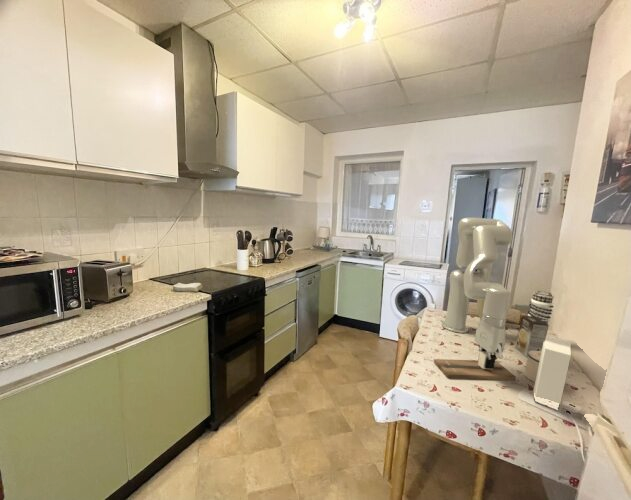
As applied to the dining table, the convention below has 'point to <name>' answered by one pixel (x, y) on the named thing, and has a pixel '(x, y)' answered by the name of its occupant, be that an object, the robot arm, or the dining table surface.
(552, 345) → the milk
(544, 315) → the decorative candle
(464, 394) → the dining table surface
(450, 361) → the wooden board
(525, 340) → the coffee box
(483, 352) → the fader tab
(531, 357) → the teacup with lid
